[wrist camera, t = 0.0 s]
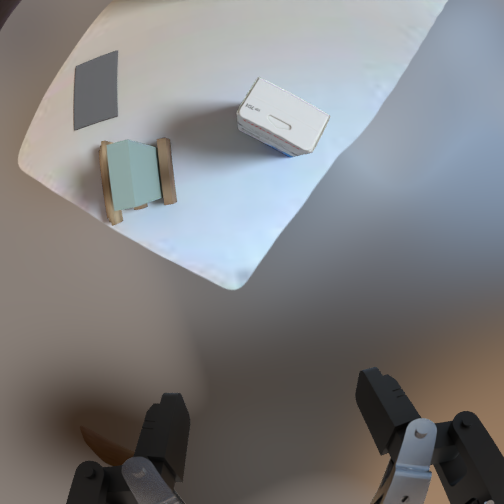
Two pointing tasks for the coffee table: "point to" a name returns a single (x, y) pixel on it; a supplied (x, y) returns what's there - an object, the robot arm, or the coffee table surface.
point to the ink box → (281, 119)
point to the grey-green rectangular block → (133, 174)
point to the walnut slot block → (165, 173)
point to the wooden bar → (108, 186)
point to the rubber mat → (95, 90)
